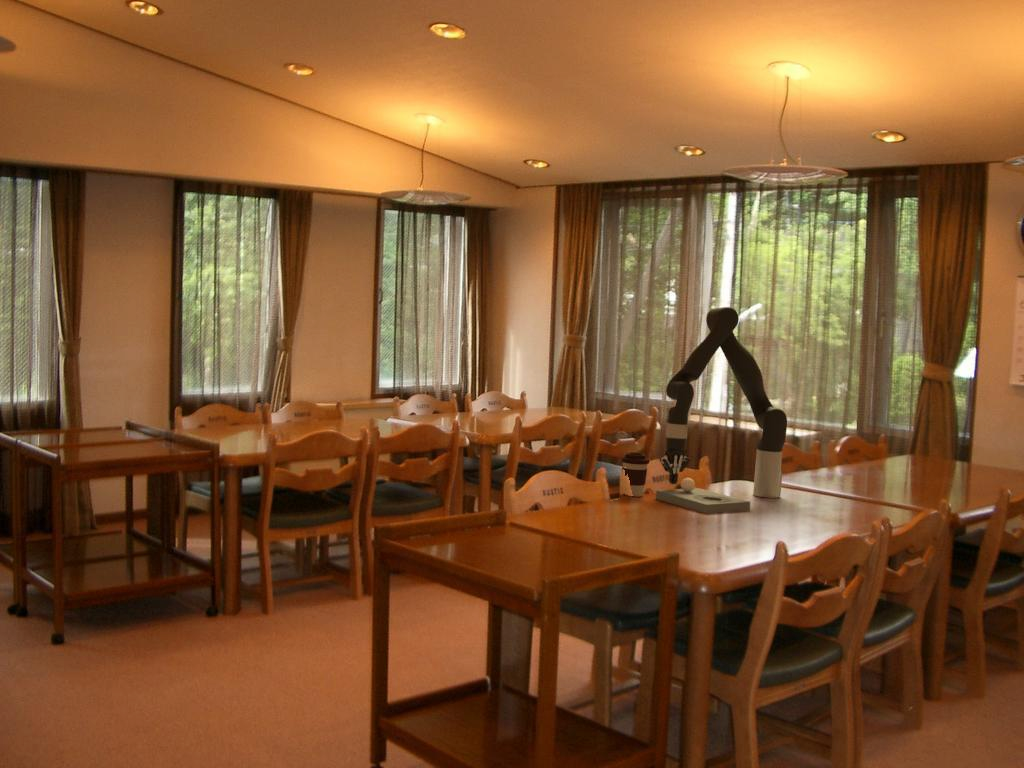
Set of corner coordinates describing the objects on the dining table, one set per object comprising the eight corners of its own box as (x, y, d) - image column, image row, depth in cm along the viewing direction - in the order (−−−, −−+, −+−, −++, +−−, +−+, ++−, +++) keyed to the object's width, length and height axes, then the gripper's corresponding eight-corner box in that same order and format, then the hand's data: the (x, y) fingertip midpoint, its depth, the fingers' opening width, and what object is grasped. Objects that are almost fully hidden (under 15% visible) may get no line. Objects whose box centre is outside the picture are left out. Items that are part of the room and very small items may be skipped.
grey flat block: (698, 496, 379) (699, 488, 379) (749, 510, 357) (750, 501, 357) (655, 498, 369) (656, 490, 368) (705, 513, 347) (706, 504, 346)
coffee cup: (646, 493, 378) (649, 452, 377) (647, 498, 368) (650, 456, 367) (618, 491, 379) (621, 450, 378) (618, 496, 369) (621, 454, 368)
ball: (687, 490, 373) (688, 476, 373) (697, 492, 369) (698, 478, 368) (677, 490, 370) (678, 476, 370) (686, 493, 366) (687, 479, 366)
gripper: (683, 434, 381) (680, 481, 383) (655, 434, 374) (652, 482, 376) (697, 437, 375) (693, 484, 376) (669, 437, 368) (665, 486, 369)
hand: (673, 483), depth 376 cm, fingers closed
